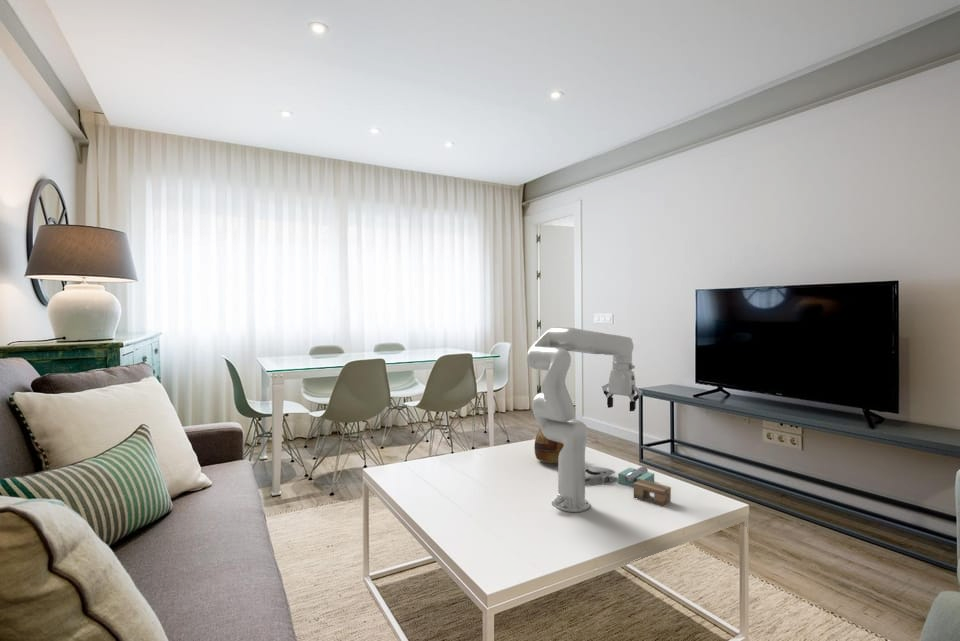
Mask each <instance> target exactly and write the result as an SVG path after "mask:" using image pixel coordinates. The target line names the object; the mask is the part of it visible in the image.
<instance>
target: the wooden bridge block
mask: <svg viewBox="0 0 960 641" xmlns="http://www.w3.org/2000/svg"><path fill="white" fill-rule="evenodd" d="M671 490H672V487H671V486H669V485H663V484H659V483H658V482H657V483H656V482H654V483H653V482H649V481H645V480H639V481H637V482H635V483H634V487H633V499H636V498H637V500H639V499H640V500H639V501H645V500H646V499H648V498H649V497H650V496H651V494H650V493H652V494H653V499H654V500H653V504H654V505H657V506H661V507H663V506H664V507H666V506H667V505H668V504H670V503H671V499H672V498H671V497H672V496H671V495H672V494H671V493H672V492H671ZM669 502H670V503H669ZM665 505H666V506H665Z"/></svg>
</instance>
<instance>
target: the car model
mask: <svg viewBox="0 0 960 641" xmlns="http://www.w3.org/2000/svg"><path fill="white" fill-rule="evenodd" d="M614 474H616V471H615V470H614V469H610V468H607V467H600V466H599V467H598V466H597V467H596V466H594V467H591V466H590V467H588V468H587V469H585V486H588V484H591V485H602V484H601V483H607V484H610V483H612V481H613V482H614V481H615V478H614V477H613V476H612V475H614ZM611 476H612V477H611Z"/></svg>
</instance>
